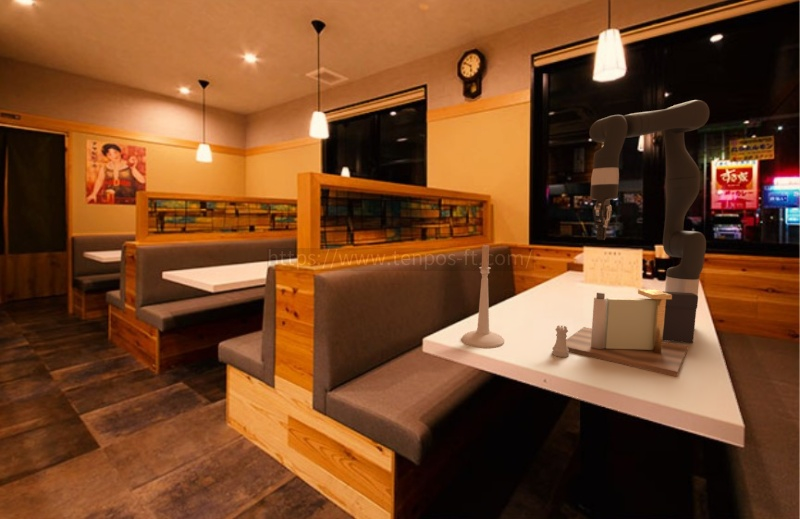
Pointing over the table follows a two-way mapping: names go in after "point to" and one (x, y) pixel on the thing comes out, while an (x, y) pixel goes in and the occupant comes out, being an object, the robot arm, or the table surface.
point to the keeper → (657, 315)
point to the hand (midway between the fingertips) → (600, 239)
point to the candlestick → (483, 313)
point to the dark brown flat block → (680, 317)
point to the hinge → (623, 323)
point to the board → (631, 354)
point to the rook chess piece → (561, 342)
